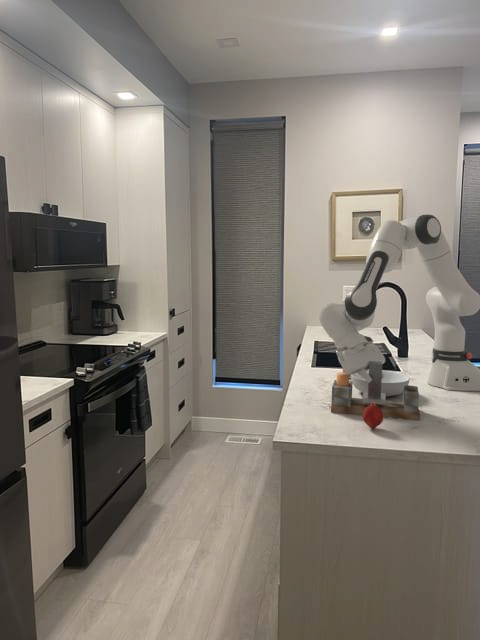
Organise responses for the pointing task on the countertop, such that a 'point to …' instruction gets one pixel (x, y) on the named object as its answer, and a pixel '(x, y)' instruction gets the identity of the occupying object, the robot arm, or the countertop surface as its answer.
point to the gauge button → (342, 379)
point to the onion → (373, 416)
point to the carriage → (375, 385)
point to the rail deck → (349, 405)
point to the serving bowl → (383, 383)
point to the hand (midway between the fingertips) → (376, 379)
